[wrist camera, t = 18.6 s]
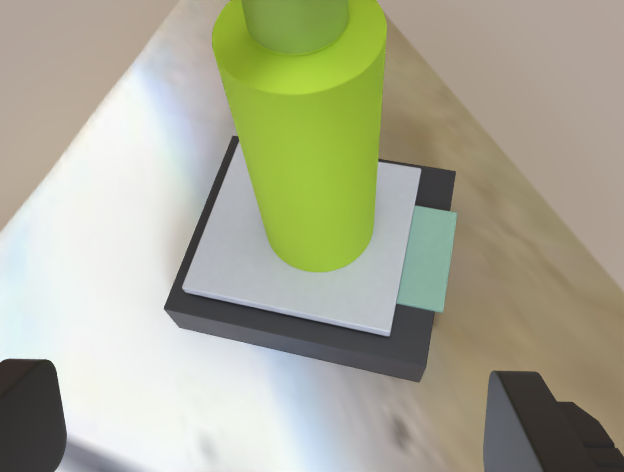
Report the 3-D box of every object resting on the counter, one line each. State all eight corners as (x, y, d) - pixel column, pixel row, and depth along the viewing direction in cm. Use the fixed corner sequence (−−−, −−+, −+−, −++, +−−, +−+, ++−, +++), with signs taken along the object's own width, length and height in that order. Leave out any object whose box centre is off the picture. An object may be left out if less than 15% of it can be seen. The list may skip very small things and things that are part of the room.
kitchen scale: (454, 199, 35) (466, 160, 31) (426, 384, 29) (437, 363, 26) (241, 163, 37) (229, 123, 33) (178, 327, 32) (156, 301, 28)
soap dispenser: (230, 243, 29) (50, -185, 12) (314, 162, 32) (266, -298, 14) (311, 308, 27) (238, -96, 10) (395, 217, 29) (457, -246, 12)
